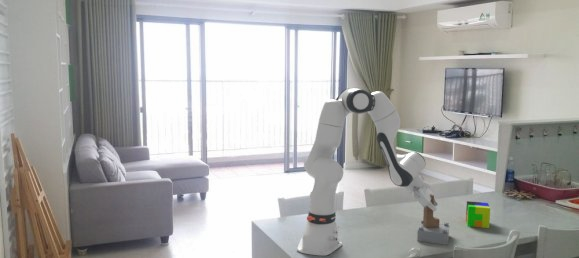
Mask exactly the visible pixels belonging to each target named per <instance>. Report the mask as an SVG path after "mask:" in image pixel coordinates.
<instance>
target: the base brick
mask: <svg viewBox="0 0 579 258" xmlns="http://www.w3.org/2000/svg"><path fill="white" fill-rule="evenodd" d="M449 236H450V223H449V222H444V224H442V223H439V227H431V228H426V227H424V226H423V219H420V222H419V226H418V227H417V240H416V241H417V242H422V243H423V242H425V243H432V244H438V245H439V244H440V245H447V246H448V244H449V238H450V237H449Z"/></svg>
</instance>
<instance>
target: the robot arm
mask: <svg viewBox="0 0 579 258" xmlns="http://www.w3.org/2000/svg"><path fill="white" fill-rule="evenodd" d="M388 97H389V96H387V95H386V94H385V93H384V92H383V91H379V90H378V91H372V92H371V93H370V92H369V91H367V90H366V89H363V88H359V87H348V88H346V89H343V90H342V91H341V93H339V95H338V96H337V97H336V99H329V100H327V101H325V102H324V104H323V106H322V108H321V112H320V115H319V119H318V124H317V129H316V135H315V137H314V138H315V139H314V142H313V144H312V147H311V150H310V151H309V154H308V155H307V156H306V157H305V159H304V161H303V167H304V171H306V173H307V174H308V175H309V177H311V178H313V180H314V183H313V187H312V190H311V192H310V193H309V211H308V213H307V217H306V225H305V227H304V231H303V232H302V233H303V235H302V237H301V238H300V240H299V243H298V245H297V248H296V251H297V252H298V253H302V254H306V255H311V256H312V255H313V256H320V257H321V256H328V255H330V254H332V253H333V252H335V251H336V250H338V249H339V248H340V247H342V246H343V242H342V241H340V232H339V230H340V229H339V225H338V224H337V222H336V218H337V217H336V216H337V215H336V209H335V208H336V194H337V189H338V185H339V183H340V182H341V181H342V180H343V177H344V169H343V167H342V166H341V164H340V163H339V162H338V161H337V160H335V159H334V158H333V157H334V155H335V152H336V150H337V149H338V148H339V147H340V146H341V142H342V138H343V132H344V126H345V121H346V119H347V116H348V115H350V114H358V115H359V114H363V113H367V114H368V115H369V116H370V119H371V120H372V122H373V123H374V125H375V128H376V134H377V135H376V141H377V145H378V147H379V150H380V152H381V155H382V158H383V160H384V163H385V166H386V167H387V170H388V175H389V178H390V180H391V182H392V183H393V184H394V185H395V186H397V187H402V188H404V189H405V190H406V191H407V192H408V193H409V194H412V195H413V197H414V198H415V199H416V200H417V202H418V203H419V204H420V205H421V207H423V208H424V207H426V206H428V207H429V208H430V209H432V210H433V212H436V211H437V209H438V208H437V206H439V203H438V202H437V200H436V199H435V198H434V205H433V204H432V203H431V202H430V201H431V197H430V194H432V195H434V192H433V190H432V188H431V187H430V186H429V185H428V183H427V182H426V181H425V178H423V176H421V175H420V173H421V172H422V171H423V170H424V169H425V167H426V159H425V158H424V156H423V155H422V154H421V153H419V152H416V151H411V152H409V153H404V154H399V153H396V149H395V148H394V147H395V145H394V144H395V143H394V142H395V138H396V136H397V134H398V131H399V130H400V128H401V124H402V123H401V122H402V120H401V116H400V113H399V112H398V110H397V109H396V107H395V106H394V104H393V102H392V101H391V100H390V98H388Z"/></svg>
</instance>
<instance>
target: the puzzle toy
mask: <svg viewBox="0 0 579 258" xmlns="http://www.w3.org/2000/svg"><path fill="white" fill-rule="evenodd" d="M490 216H491V206H490V205H489V202H482V201H481V202H480V201H468V200H467V201H466V212H465V222H466V226H467V227H472V228H473V227H474V228H475V227H476V228H483V229H484V228H487V229H489V228H490V220H491V217H490Z"/></svg>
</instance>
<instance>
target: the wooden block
mask: <svg viewBox="0 0 579 258" xmlns="http://www.w3.org/2000/svg"><path fill="white" fill-rule="evenodd" d="M430 197H431V201H430V202H431V203H432V204H433V205H434V199H435V195H434V194H433V195H432V194H430ZM422 218H423V219H422V220H423V226H424V227H426V228H431V227H439V224H440V218H438V217H435V216H434V211H433V210H432V209H430V208H429V207H428V206H426V207H423V217H422Z"/></svg>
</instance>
